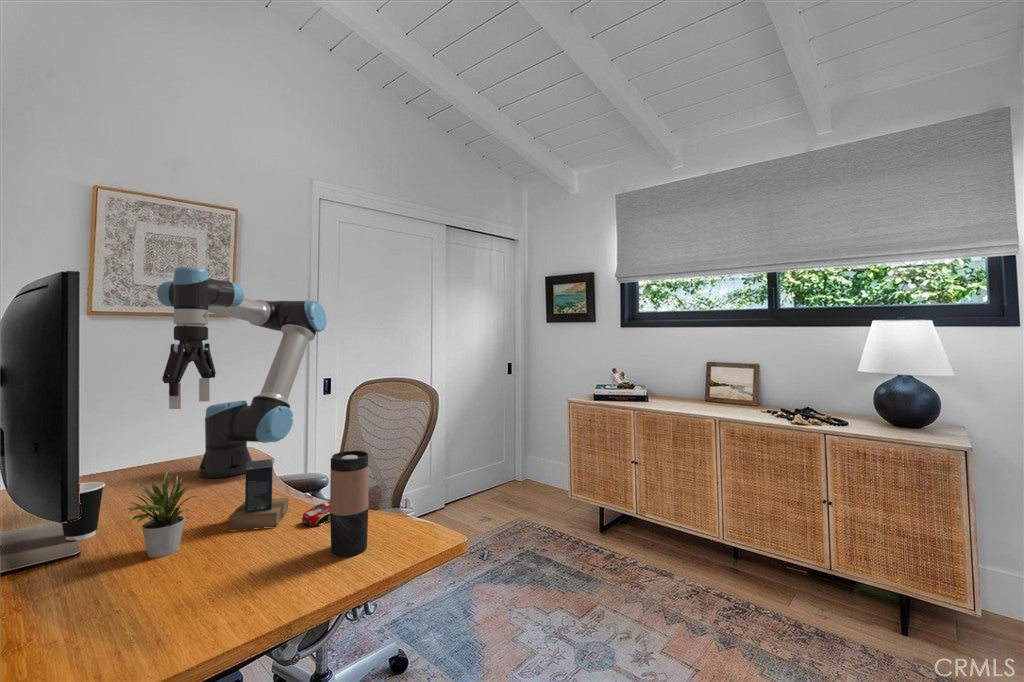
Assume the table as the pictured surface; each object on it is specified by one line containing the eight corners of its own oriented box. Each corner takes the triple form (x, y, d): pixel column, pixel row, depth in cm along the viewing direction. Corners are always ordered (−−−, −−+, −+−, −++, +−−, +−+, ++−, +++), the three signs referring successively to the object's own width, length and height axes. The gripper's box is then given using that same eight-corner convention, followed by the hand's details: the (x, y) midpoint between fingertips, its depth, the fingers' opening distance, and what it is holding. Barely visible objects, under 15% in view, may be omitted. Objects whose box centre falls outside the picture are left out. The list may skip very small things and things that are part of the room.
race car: (347, 508, 118) (347, 493, 118) (359, 512, 115) (359, 497, 115) (298, 524, 107) (298, 507, 107) (310, 530, 104) (310, 513, 104)
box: (272, 510, 106) (272, 466, 106) (244, 514, 104) (244, 469, 104) (272, 499, 113) (272, 458, 113) (246, 503, 110) (246, 461, 110)
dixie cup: (114, 529, 103) (114, 481, 103) (80, 544, 96) (80, 493, 96) (80, 528, 104) (80, 481, 104) (44, 544, 96) (44, 493, 96)
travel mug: (376, 546, 95) (376, 453, 95) (346, 561, 89) (346, 461, 89) (351, 538, 99) (352, 448, 99) (321, 552, 93) (322, 456, 93)
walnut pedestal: (245, 516, 112) (245, 500, 112) (288, 513, 115) (288, 497, 115) (229, 533, 103) (229, 516, 103) (276, 529, 105) (276, 512, 105)
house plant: (117, 547, 94) (117, 471, 94) (197, 530, 103) (197, 459, 103) (114, 575, 83) (114, 488, 83) (203, 552, 92) (204, 474, 92)
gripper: (178, 324, 107) (178, 412, 107) (229, 327, 132) (229, 398, 132) (144, 324, 106) (144, 412, 106) (201, 326, 131) (201, 398, 131)
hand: (191, 404), depth 119 cm, fingers open, 13 cm apart
